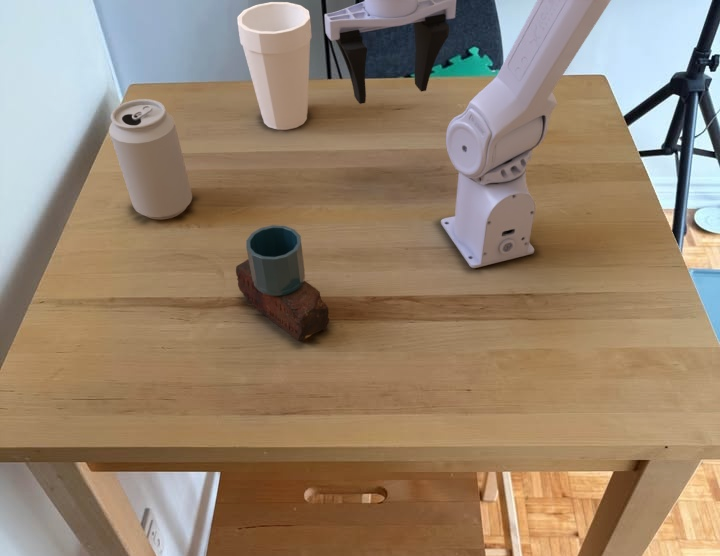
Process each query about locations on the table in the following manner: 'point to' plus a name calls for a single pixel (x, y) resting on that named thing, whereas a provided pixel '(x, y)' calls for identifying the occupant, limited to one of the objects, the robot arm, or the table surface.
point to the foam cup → (278, 60)
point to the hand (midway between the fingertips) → (390, 93)
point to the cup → (276, 260)
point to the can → (150, 158)
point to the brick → (287, 306)
